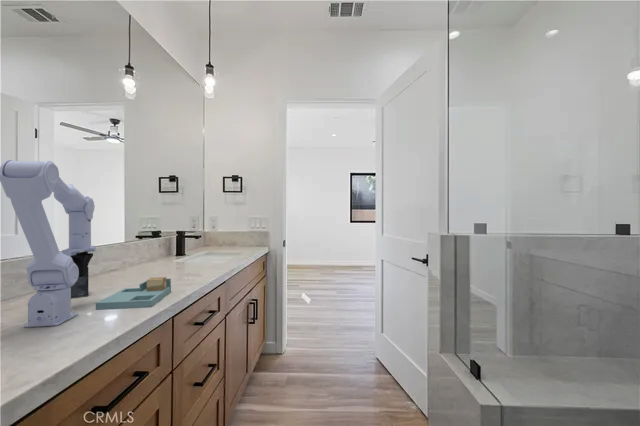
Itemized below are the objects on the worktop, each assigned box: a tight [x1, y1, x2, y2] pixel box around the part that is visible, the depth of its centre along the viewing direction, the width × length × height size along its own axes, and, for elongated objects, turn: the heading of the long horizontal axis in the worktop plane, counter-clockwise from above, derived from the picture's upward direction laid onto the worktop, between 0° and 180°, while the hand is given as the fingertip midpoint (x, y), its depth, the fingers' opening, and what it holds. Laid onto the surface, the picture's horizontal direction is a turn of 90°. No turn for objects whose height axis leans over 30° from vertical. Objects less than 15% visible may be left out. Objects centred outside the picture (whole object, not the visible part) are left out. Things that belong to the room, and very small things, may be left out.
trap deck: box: [95, 278, 172, 311], centre depth 110 cm, size 20×16×5 cm
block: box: [146, 276, 167, 291], centre depth 117 cm, size 5×5×4 cm
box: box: [71, 266, 89, 299], centre depth 118 cm, size 8×6×11 cm
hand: (80, 276), depth 103 cm, fingers closed
